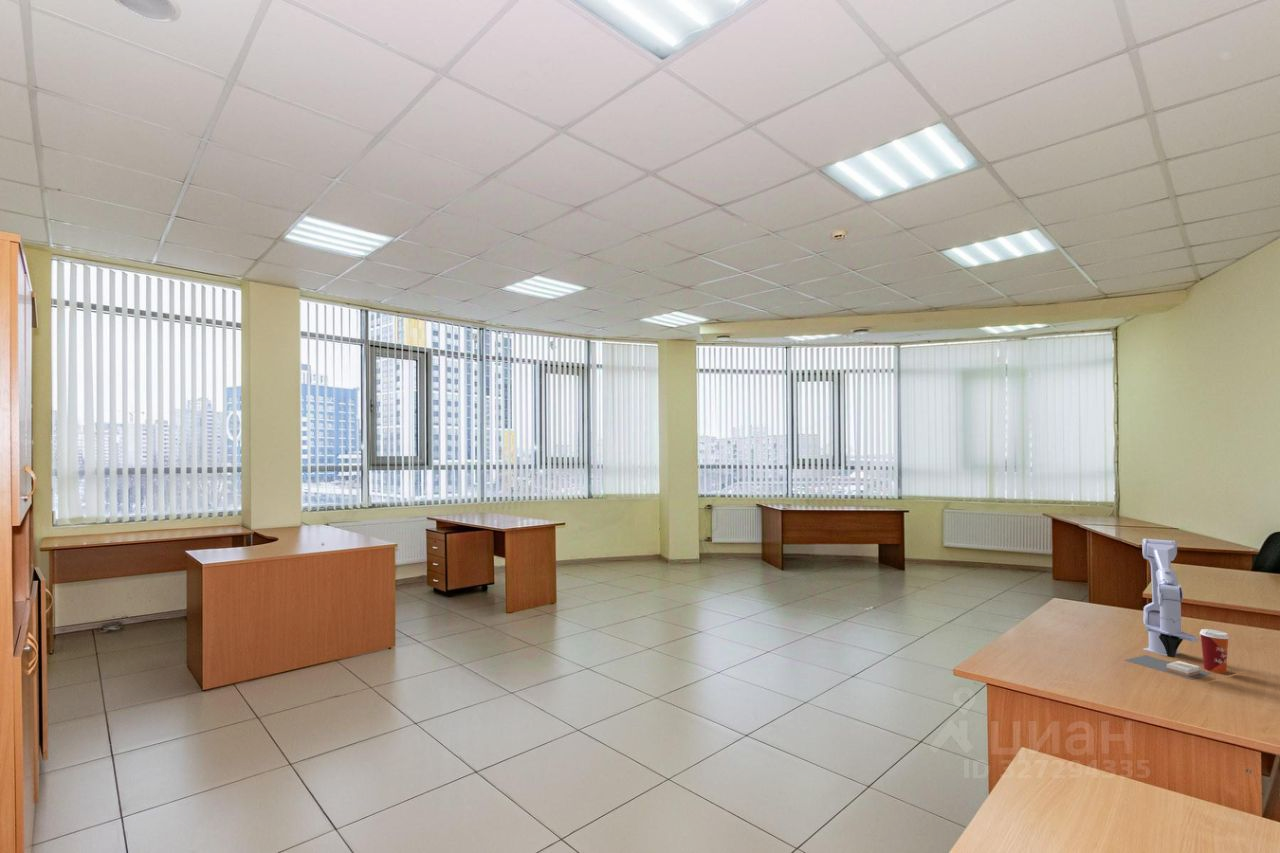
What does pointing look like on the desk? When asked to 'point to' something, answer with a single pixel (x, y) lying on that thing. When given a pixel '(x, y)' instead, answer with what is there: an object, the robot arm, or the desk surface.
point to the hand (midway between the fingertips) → (1171, 656)
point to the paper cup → (1214, 650)
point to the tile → (1183, 668)
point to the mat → (1161, 665)
